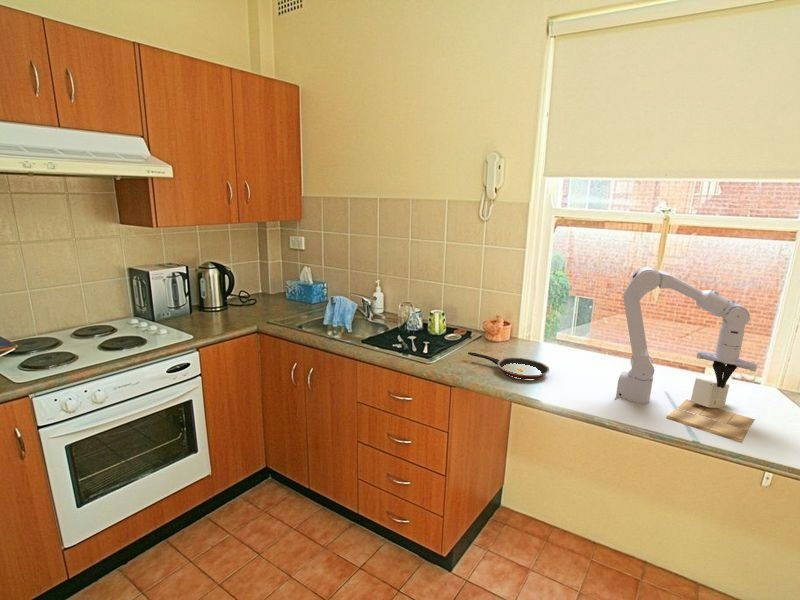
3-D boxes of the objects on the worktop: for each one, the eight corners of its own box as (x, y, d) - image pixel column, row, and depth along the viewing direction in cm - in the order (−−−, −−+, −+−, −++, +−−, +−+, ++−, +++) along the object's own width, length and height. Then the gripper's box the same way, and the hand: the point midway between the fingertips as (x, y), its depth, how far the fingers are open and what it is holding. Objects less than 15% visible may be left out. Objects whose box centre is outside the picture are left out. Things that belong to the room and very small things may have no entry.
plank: (665, 419, 132) (666, 416, 132) (675, 411, 139) (676, 408, 139) (739, 444, 119) (740, 440, 119) (747, 434, 126) (748, 430, 126)
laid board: (676, 411, 139) (677, 407, 139) (685, 402, 146) (686, 399, 146) (747, 434, 127) (748, 429, 126) (754, 423, 133) (755, 419, 133)
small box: (711, 379, 146) (695, 377, 141) (730, 384, 142) (715, 382, 136) (705, 403, 147) (689, 401, 141) (724, 409, 142) (708, 407, 136)
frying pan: (540, 388, 154) (541, 378, 154) (457, 367, 172) (457, 358, 171) (554, 372, 170) (555, 363, 169) (477, 354, 187) (477, 346, 186)
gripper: (762, 347, 129) (753, 391, 132) (704, 335, 140) (696, 376, 142) (758, 352, 124) (748, 397, 127) (698, 339, 135) (690, 381, 138)
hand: (720, 386), depth 135 cm, fingers closed
